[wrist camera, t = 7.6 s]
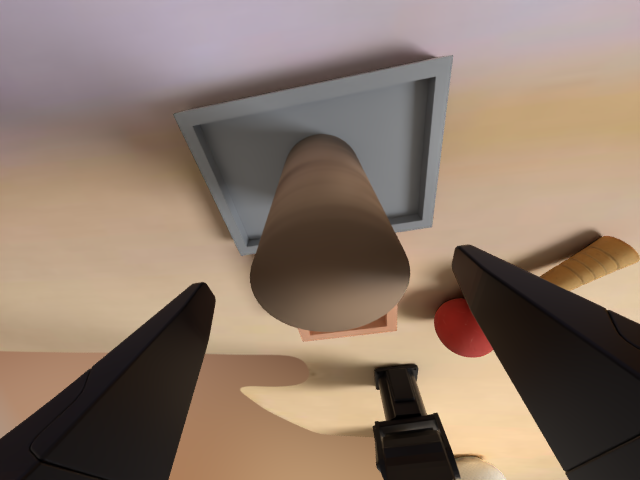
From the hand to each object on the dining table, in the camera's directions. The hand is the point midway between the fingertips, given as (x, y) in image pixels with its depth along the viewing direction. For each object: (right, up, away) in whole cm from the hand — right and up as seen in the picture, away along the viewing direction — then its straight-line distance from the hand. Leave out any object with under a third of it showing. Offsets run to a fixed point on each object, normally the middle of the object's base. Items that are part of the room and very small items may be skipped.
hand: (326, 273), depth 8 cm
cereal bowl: (+42, -64, +61) cm, 98 cm away
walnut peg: (0, +6, +9) cm, 11 cm away
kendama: (+20, -3, +17) cm, 27 cm away
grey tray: (0, +7, +9) cm, 12 cm away
